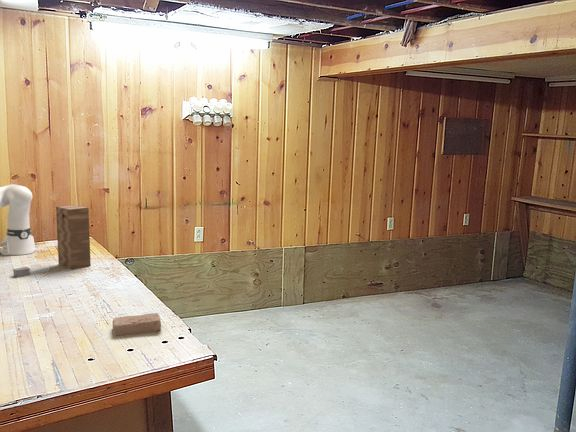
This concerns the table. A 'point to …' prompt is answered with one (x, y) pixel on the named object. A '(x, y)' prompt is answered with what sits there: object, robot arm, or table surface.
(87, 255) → the post
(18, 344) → the table surface
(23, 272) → the grey stepped bar
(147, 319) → the brick
